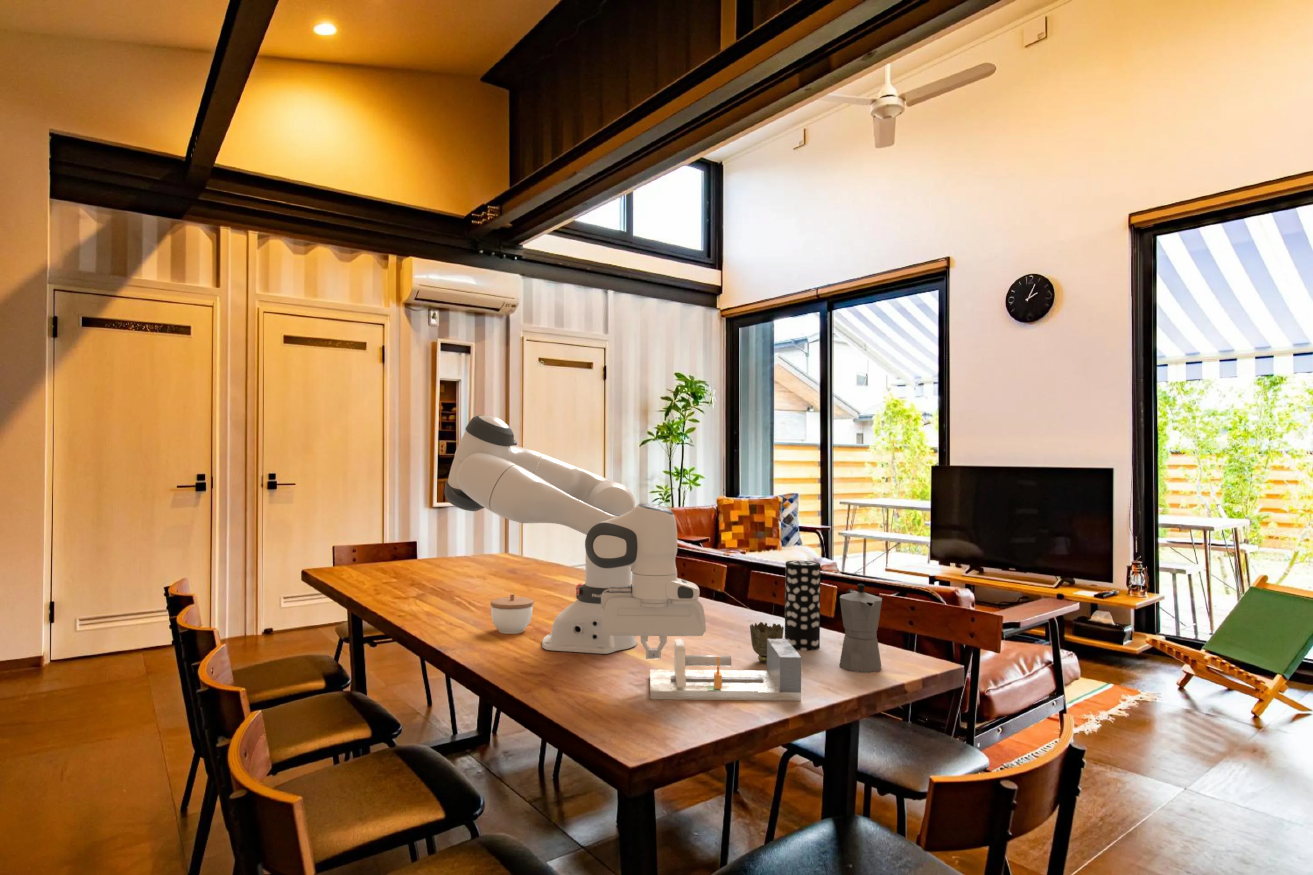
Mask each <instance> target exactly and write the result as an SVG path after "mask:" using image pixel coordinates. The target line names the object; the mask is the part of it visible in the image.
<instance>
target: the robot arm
mask: <svg viewBox="0 0 1313 875" xmlns="http://www.w3.org/2000/svg"><path fill="white" fill-rule="evenodd" d="M514 434H515V433H514V432H513V430H512V429H511V426H510V425H508V424H507V423H506V422H505V421H503V420H502V419H500V418H499V417H496V416H494V415H488V414H487V415H485V414H484V415H481V414H480V415H479V414H477V415H475V416H473V417H472V418H471V419H470V420H469V422H468V424H467V425H466V427H465V432H464V434H463V435H462V437H461V439H460V441H459V443H458V445H457V447H456V450H455V453H454V457H453V460H452V463H451V466H450V470H449V474H448V479H447V480H445V485H444V496H445V498H446V500H447V502H448V503H449V504H451V505H452V506H454V507H456V509H457V508H458V509H460V510H463V511H469V512H478V511H481V510H482V509H486V510H488V511H490V512H491V513H494V514H496V515H497V516H499V517H502V518H504V519H507V520H509V521H512V522H516V523H520V524H554V525H555V524H556V525H562V526H565V527H568V528H569V529H573V530H575V531H576V532H579V533H581V534H584V535H586V536H585V541H584V548H585V568H584V569H585V570H584V571H585V575H584V576H585V578H584V580H585V581H584V583H583V582H582V583H581V582H579V583H577V585H576V587H575V590H576V591H575V592H576V594H575V598H576V600H574V602H572V603H571V604H570V605H568V606H567V607H566V608H564V609H563V610H562V611H561V612H560V613H558V614H557V615H556V616H555V618H554V620H553V624H552V628H551V632H550V633H549V634H547V635H545V636H544V637H543V638H542V642H541V646H542V649H545V651H557V652H558V651H559V652H574V653H587V654H589V653H590V654H603V655H605V654H606V655H607V654H611V653H614V652H618V651H623V650H627V649H631V648H633V647H635V646H636V645H637V644H638V643H637V638H636V637H640V643H641V645H642V647H643V648H644V650H645V659H646V660H661V659H662V650H663V649H664V647H665V645H666V644H667V643H668V639H667V638H668V637H702V636H704V634H705V633H706V632H707V631H706V627H707V626H706V615H705V610H704V606H703V604H702V602H701V599H700V598H699V597H700V588H699V586H698V585H697V584H696V583H694V582H691V581H688V580H686V579H683V578H680V577H679V578H678V570H677V565H676V558H677V557H676V556H677V554H678V528H677V526H678V525H677V520H676V516H675V515H676V514H674V512H673V511H672V510H671V509H670V508H668V507H666V506H663V505H660V504H659V505H658V504H654V503H648V502H647V503H646V502H643V503H639V504H637V505H636V501H635V498H634V494H633V493H632V492H631V490H630V489H629V488H628V487H626V486H625V485H624V484H622V483H619V482H617V481H614V480H611V479H608V478H606V477H603V476H601V475H598V474H596V473H592V472H590V471H589V470H585V469H584V468H580V467H577V466H576V465H572V464H570V463H567V462H565V461H562V460H559V459H557V458H554V457H553V456H550V455H547V454H544V453H541V452H539V451H536V450H533V449H529V448H527V447H524V446H523V447H521V446H519V445H518V441H516V439H515V435H514ZM517 445H518V446H517ZM649 637H658V639H659V642H660V643H659V644H658V646H657V647H650V646H649V645H648V643H647V642H648V640H649Z"/></svg>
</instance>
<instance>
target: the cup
mask: <svg viewBox="0 0 1313 875" xmlns="http://www.w3.org/2000/svg"><path fill="white" fill-rule="evenodd" d="M749 630H750V639H751V640H750V641H751V646H752V650H753V651H754V652H755V654H756V655H758V656H757V659H758V661H759V662H760V663H762V664H767V639H784V631H785V626H784V625H781V624H780V623H778V624H776V623H772V626H771V625H768V623H767V622H765V623H764V622H762V621H760V622H759V623H758V624H757V622H755V623H754V624H753V623H751V624H750V625H749Z"/></svg>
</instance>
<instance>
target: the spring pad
mask: <svg viewBox="0 0 1313 875" xmlns="http://www.w3.org/2000/svg"><path fill="white" fill-rule="evenodd" d="M684 643H685V642H684V640H683V638H682V639H681V638H675V639H674V664H673V665H674V666H673V668H674V669H673V670H675V677H676V683H677V687H686V674H685V670H686V667H691V666H692V667H717V656H719V667H732V655H721V654H720V655H718V654H717V655H713V654H712V655H710V654H709V655H707V654H705V655H704V654H702V655H701V654H696V655H694V654H686V648H685V644H684Z"/></svg>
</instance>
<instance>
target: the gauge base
mask: <svg viewBox="0 0 1313 875" xmlns="http://www.w3.org/2000/svg"><path fill="white" fill-rule="evenodd" d="M714 672H717V669H685V674H686V687H677V683H676V677H675V670H674V669H661V668H660V669H654V668H652V669H650V668H649V689H650V690H649V691H650V693H649V695H650V700H673V701H674V700H676V701H679V700H685V701H686V700H688V701H691V700H692V701H699V700H700V701H701V700H702V701H704V700H705V701H786V702H787V701H788V702H790V701H791V702H792V701H794V702H797V701H799V702H800V701H802V656H801V655H800V654H799V653H798V650H795V649H794V648H793V646H792V645H791V644H790V643H789V641H788V640H787V639H785V638H782V639H767V663H766V670H748V669H747V670H746V669H745V670H744V669H743V670H742V669H740V670H739V669H738V670H736V669H735V670H734V669H732V670H731V669H719V672H721V675H722V689H715V686H714Z"/></svg>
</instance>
